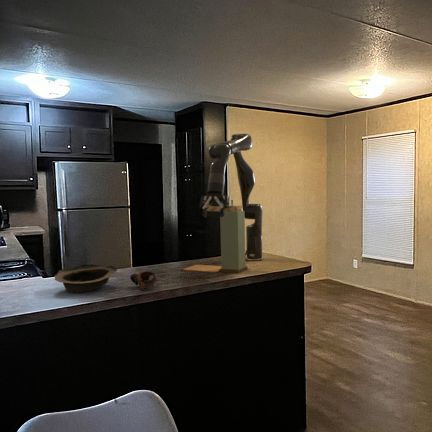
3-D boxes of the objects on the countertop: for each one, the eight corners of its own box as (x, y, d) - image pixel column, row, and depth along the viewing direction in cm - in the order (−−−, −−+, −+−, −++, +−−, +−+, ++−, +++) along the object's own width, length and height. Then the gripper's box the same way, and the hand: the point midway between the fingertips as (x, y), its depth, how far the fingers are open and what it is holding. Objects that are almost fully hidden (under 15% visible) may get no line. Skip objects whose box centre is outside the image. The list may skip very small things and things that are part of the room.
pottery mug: (158, 285, 202) (160, 271, 197) (151, 299, 194) (153, 285, 189) (133, 278, 201) (134, 265, 197) (124, 292, 193) (125, 278, 189)
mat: (182, 270, 233) (182, 269, 233) (196, 265, 246) (196, 264, 246) (215, 272, 226) (215, 271, 226) (228, 267, 239) (228, 266, 239)
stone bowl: (98, 279, 211) (99, 260, 210) (127, 291, 195) (127, 270, 194) (44, 288, 192) (43, 268, 191) (70, 302, 176) (70, 280, 175)
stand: (219, 271, 228) (217, 212, 225) (229, 267, 238) (227, 210, 235) (238, 273, 224) (237, 212, 221) (247, 269, 234) (246, 210, 232)
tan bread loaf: (202, 211, 231) (202, 199, 231) (208, 210, 237) (207, 199, 236) (236, 211, 224) (236, 200, 224) (241, 211, 230) (241, 199, 229)
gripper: (233, 185, 211) (230, 218, 207) (206, 187, 215) (203, 219, 212) (226, 180, 204) (223, 214, 200) (199, 182, 208) (195, 215, 205)
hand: (213, 217), depth 206 cm, fingers open, 8 cm apart
